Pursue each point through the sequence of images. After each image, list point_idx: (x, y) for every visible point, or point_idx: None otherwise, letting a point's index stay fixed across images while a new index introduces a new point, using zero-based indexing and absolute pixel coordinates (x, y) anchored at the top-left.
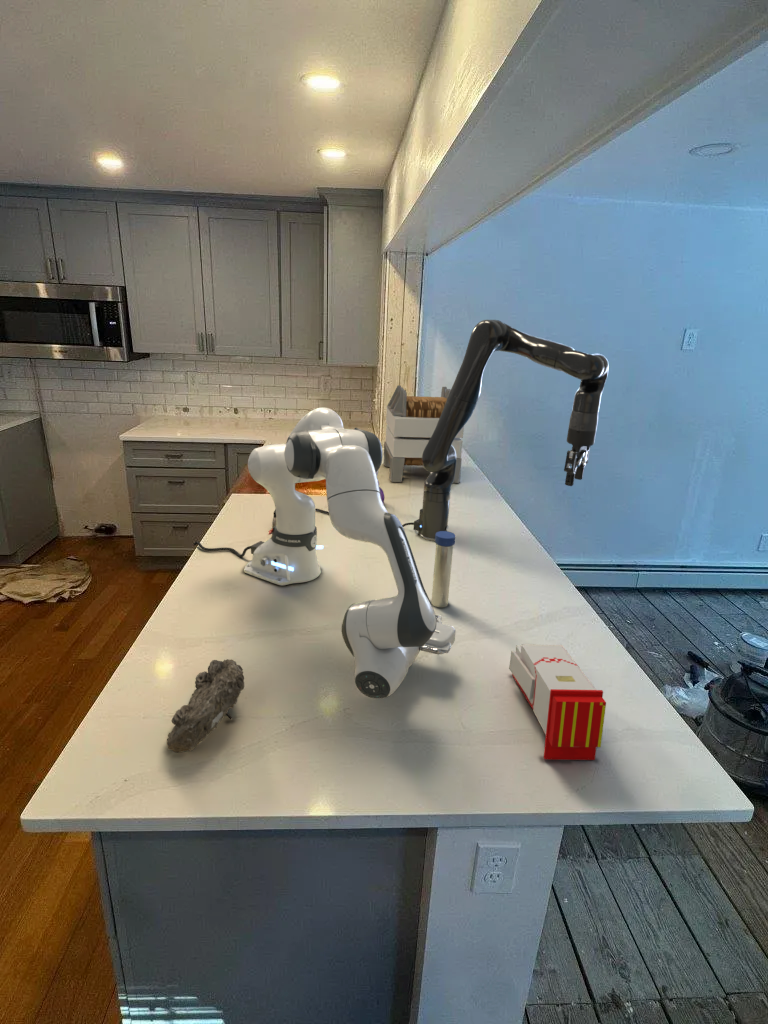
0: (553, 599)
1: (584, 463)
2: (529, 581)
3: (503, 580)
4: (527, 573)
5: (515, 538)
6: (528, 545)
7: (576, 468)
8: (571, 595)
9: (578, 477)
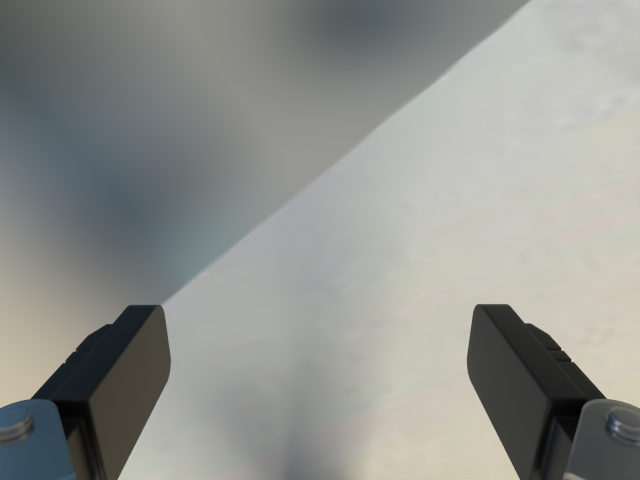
0: (530, 99)
1: (56, 467)
2: (445, 207)
3: (484, 269)
4: (391, 233)
5: None
6: (175, 310)
7: (591, 465)
8: (467, 58)
9: (159, 346)
